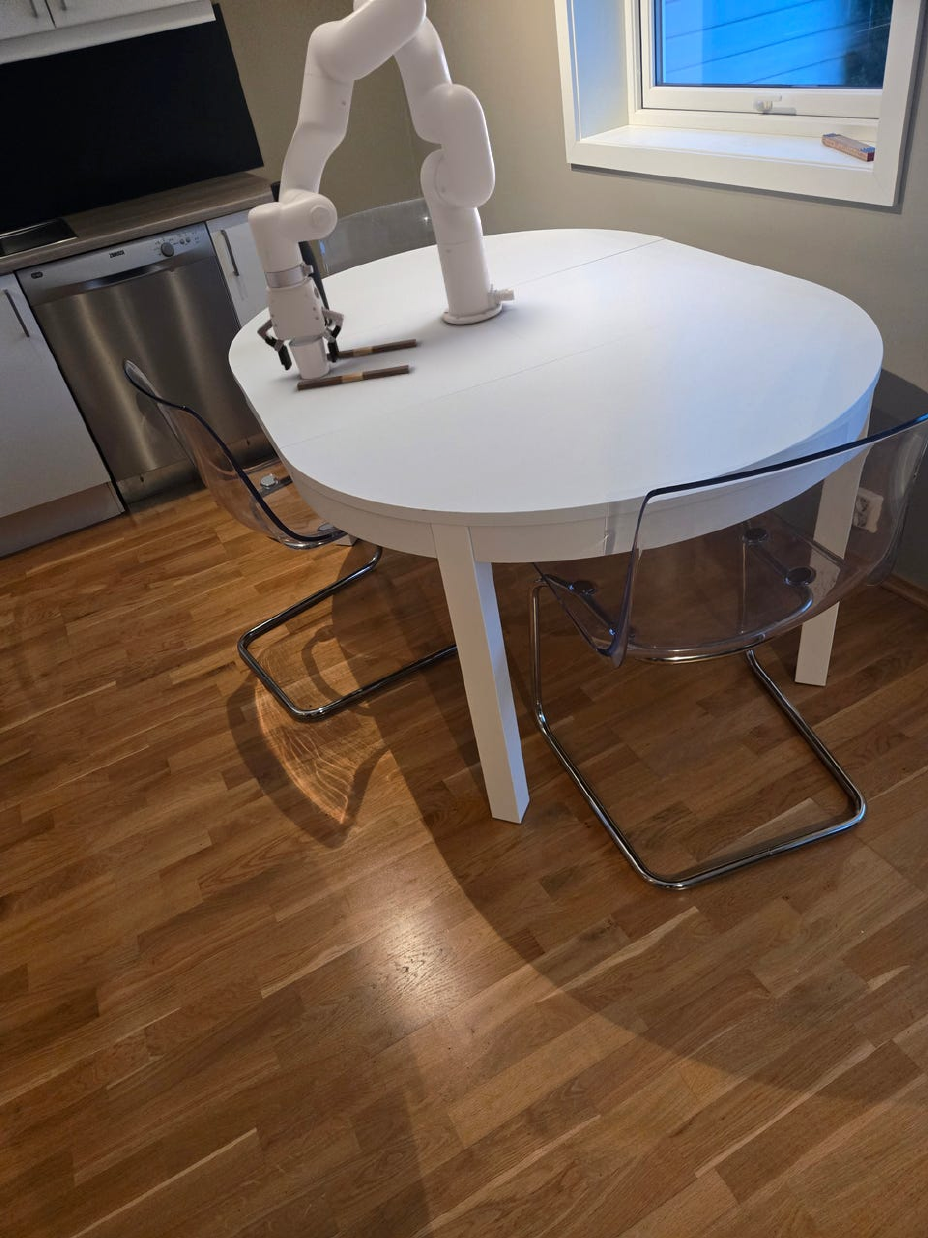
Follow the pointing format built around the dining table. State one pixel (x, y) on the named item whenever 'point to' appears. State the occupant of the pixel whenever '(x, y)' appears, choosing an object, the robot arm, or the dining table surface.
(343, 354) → the guide rails
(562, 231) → the dining table surface
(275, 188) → the wine bottle
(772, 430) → the dining table surface
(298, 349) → the white cup
